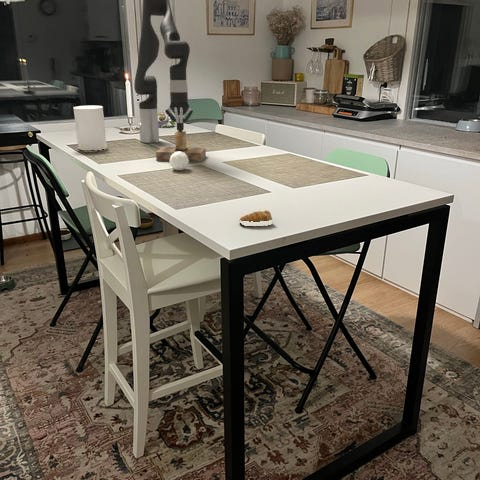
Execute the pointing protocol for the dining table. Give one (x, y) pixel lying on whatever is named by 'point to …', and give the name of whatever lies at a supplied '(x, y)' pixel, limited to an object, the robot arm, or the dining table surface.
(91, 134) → the canister
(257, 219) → the pastry
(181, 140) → the peg
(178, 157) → the ball
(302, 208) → the dining table surface
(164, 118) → the passion flower
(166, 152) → the board
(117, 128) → the dining table surface
